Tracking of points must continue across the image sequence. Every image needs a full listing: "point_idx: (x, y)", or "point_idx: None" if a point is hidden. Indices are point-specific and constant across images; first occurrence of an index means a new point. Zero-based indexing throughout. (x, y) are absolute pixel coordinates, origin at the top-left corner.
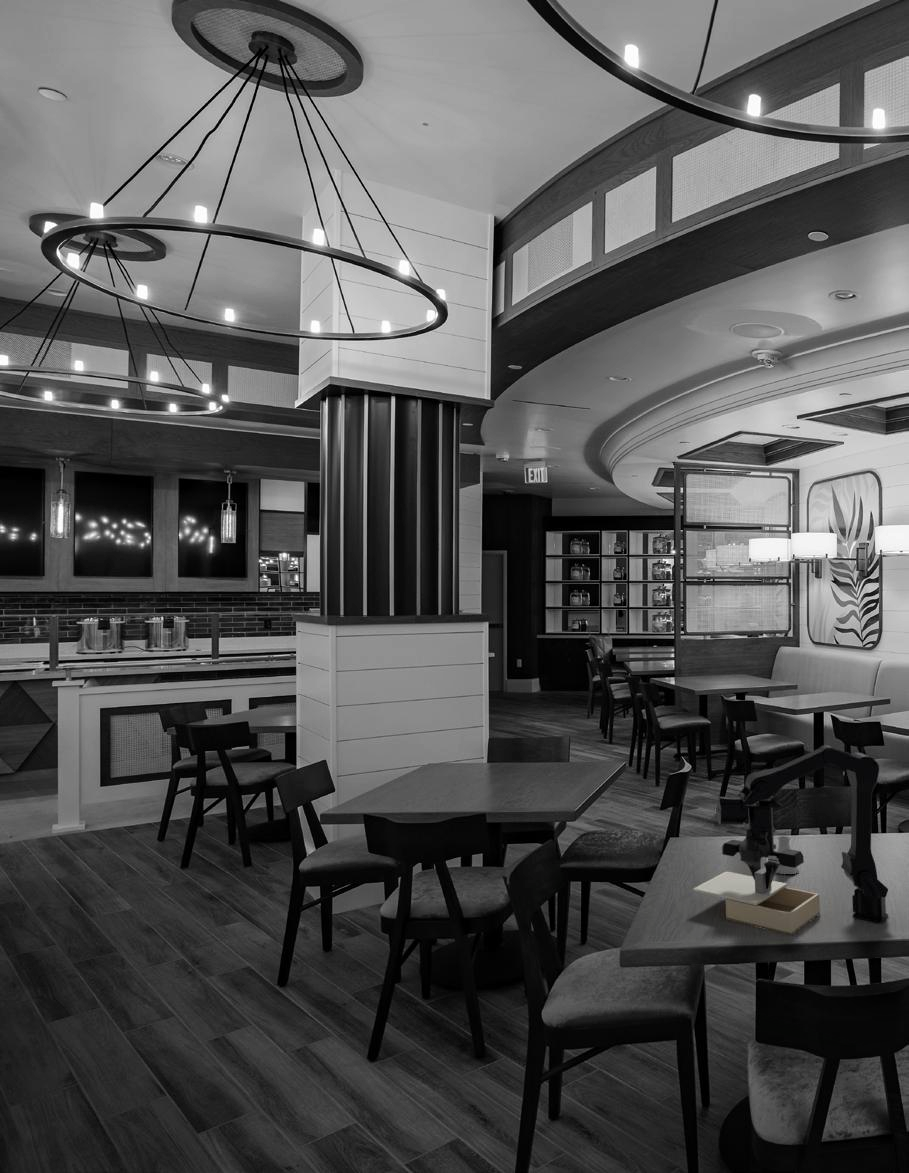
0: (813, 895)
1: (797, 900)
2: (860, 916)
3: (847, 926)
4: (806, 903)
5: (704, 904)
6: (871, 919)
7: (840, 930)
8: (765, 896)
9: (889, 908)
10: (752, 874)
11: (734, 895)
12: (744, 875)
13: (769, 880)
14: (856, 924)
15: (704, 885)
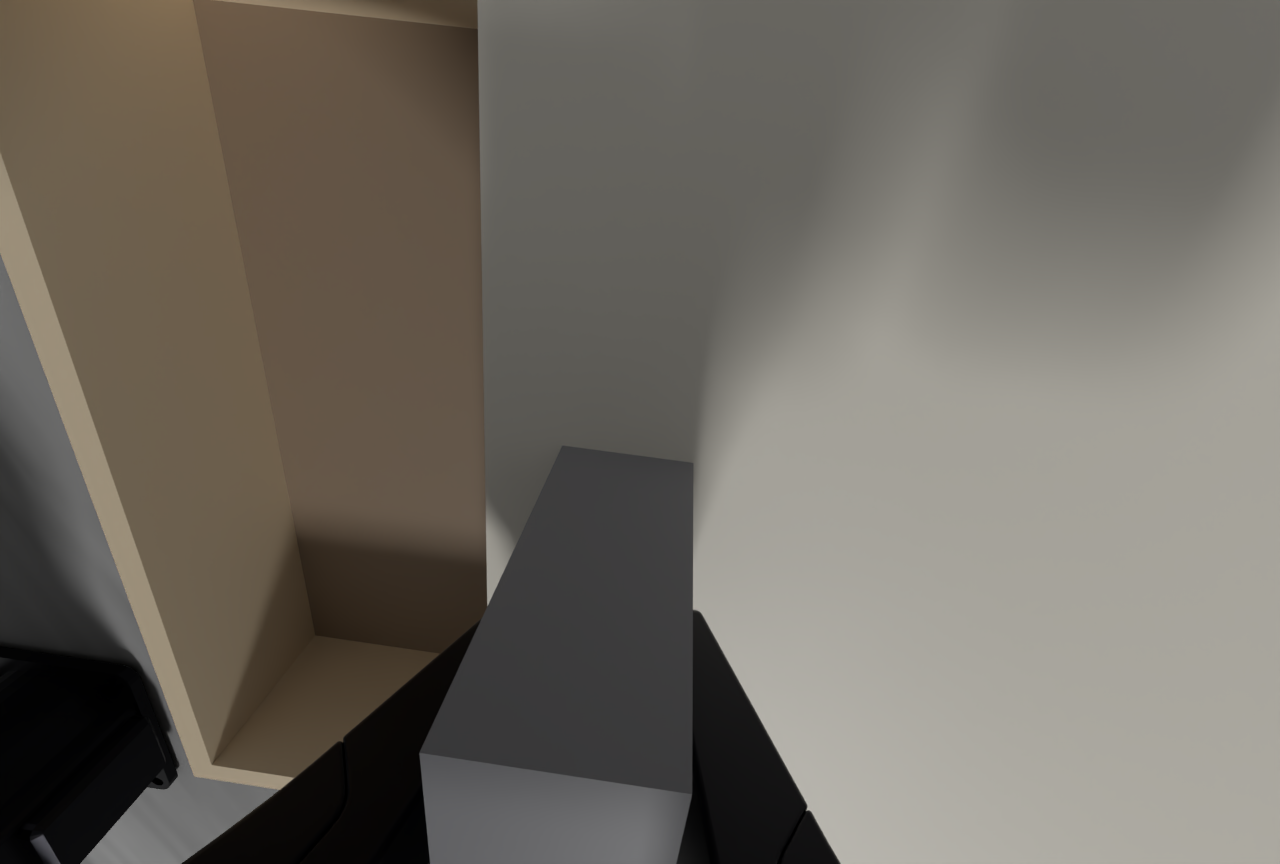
0: (244, 751)
1: None
2: (79, 675)
3: (51, 505)
4: (102, 506)
5: None
6: (4, 656)
7: (20, 401)
8: (494, 373)
9: (114, 842)
10: (792, 793)
11: (1033, 95)
12: None
13: (405, 686)
14: (44, 568)
15: None
